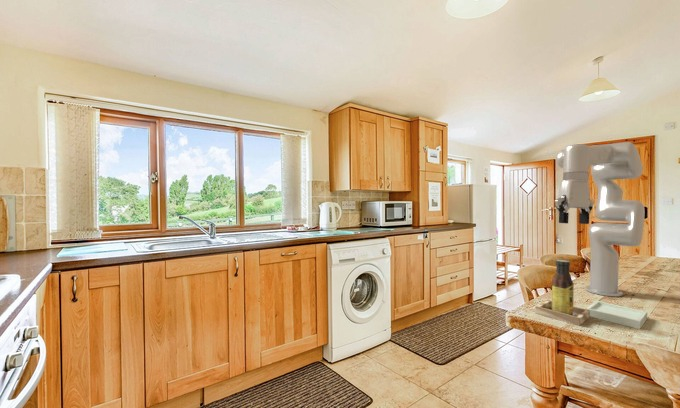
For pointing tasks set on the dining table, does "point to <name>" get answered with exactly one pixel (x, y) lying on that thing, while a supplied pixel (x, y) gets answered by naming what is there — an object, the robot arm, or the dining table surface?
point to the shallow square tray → (617, 314)
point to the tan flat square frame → (582, 313)
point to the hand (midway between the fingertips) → (573, 223)
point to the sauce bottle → (562, 289)
